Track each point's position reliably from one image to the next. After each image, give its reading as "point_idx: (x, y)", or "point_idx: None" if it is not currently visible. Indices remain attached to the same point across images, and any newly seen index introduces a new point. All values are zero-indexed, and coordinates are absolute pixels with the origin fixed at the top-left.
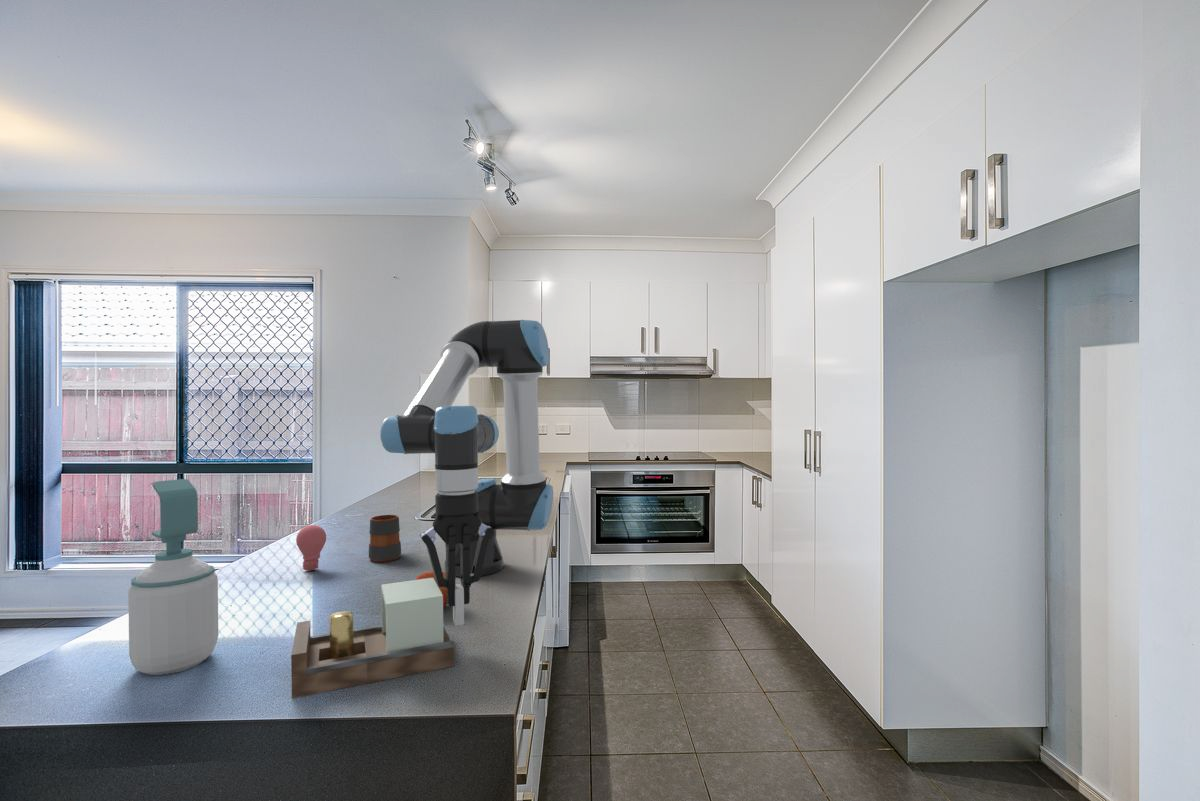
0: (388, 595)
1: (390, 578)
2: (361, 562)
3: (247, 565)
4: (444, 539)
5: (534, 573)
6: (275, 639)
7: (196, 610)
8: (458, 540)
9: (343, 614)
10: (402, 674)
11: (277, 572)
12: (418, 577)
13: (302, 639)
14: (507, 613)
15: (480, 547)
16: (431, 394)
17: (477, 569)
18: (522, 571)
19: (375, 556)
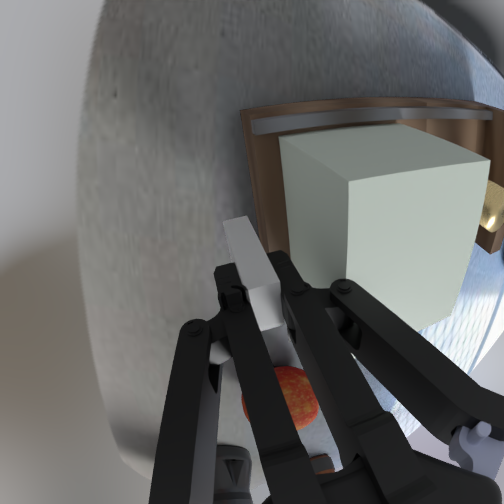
0: (470, 233)
1: (316, 434)
2: (336, 451)
3: (418, 423)
4: (428, 459)
5: (119, 448)
6: (461, 286)
7: None
8: (346, 484)
9: (497, 213)
10: (350, 98)
11: (406, 420)
12: (315, 414)
13: None
14: (131, 350)
15: (191, 469)
16: None
17: (194, 363)
18: (139, 453)
19: (326, 459)
